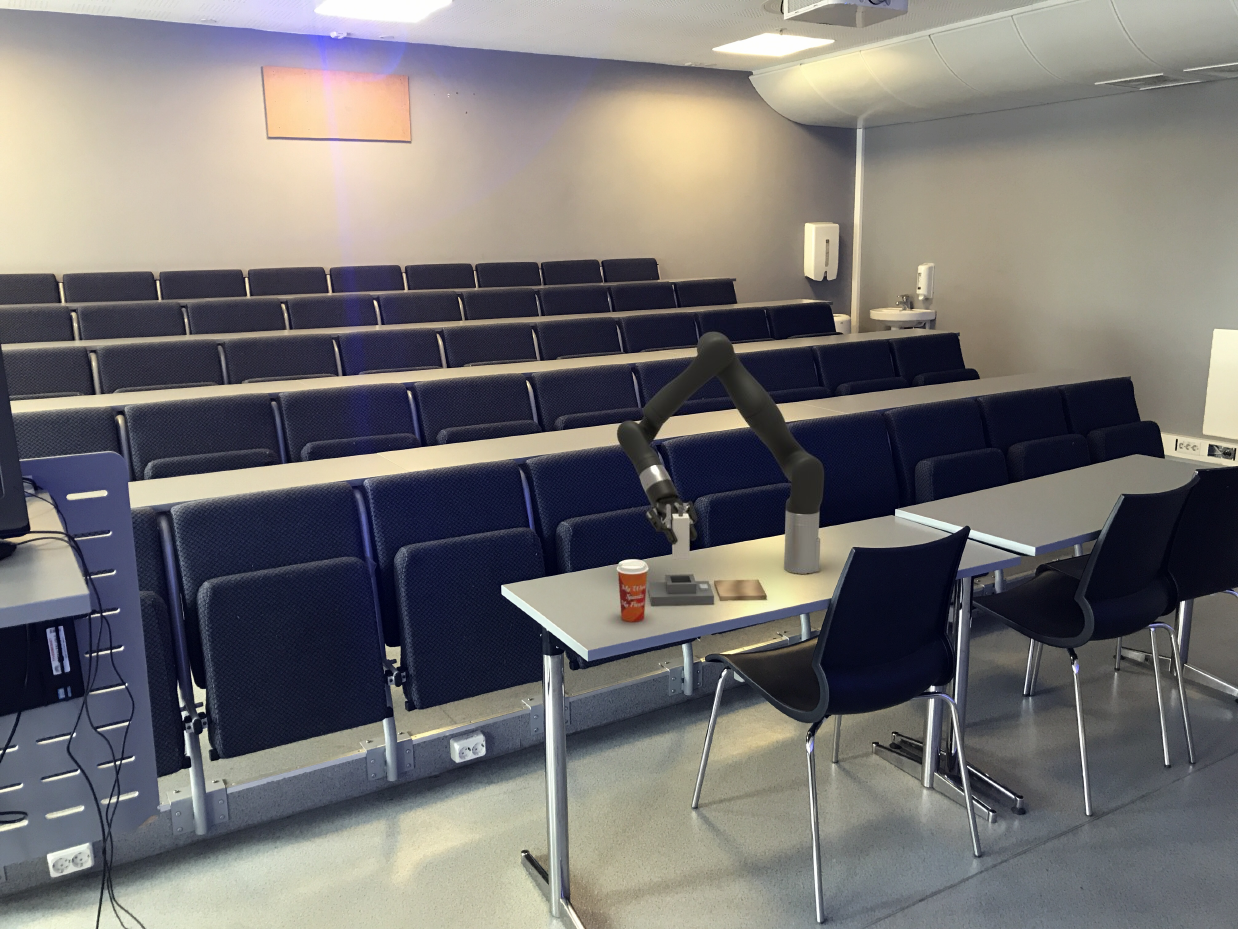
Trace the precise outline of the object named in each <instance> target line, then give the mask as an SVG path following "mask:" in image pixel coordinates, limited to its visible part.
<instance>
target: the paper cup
mask: <svg viewBox="0 0 1238 929" xmlns="http://www.w3.org/2000/svg"><path fill="white" fill-rule="evenodd" d="M617 564H618V566H617V567H616V571H617V573H618V575H617V576H618V586H619V587H618V589H619V590H618V592H619V602H620V605H619V606H620V615H621V620H623V621H625V622H629V623H637V622H640V621H641V622H642V621H643V620H644V619H645V610H646V593H647V575H648V570H649V569H650V568H649V566H648V564H647V563H646V562H645V561H643V560H641V559H635V558H634V559H625V560H622V561H620V562H619V563H617Z"/></svg>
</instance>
